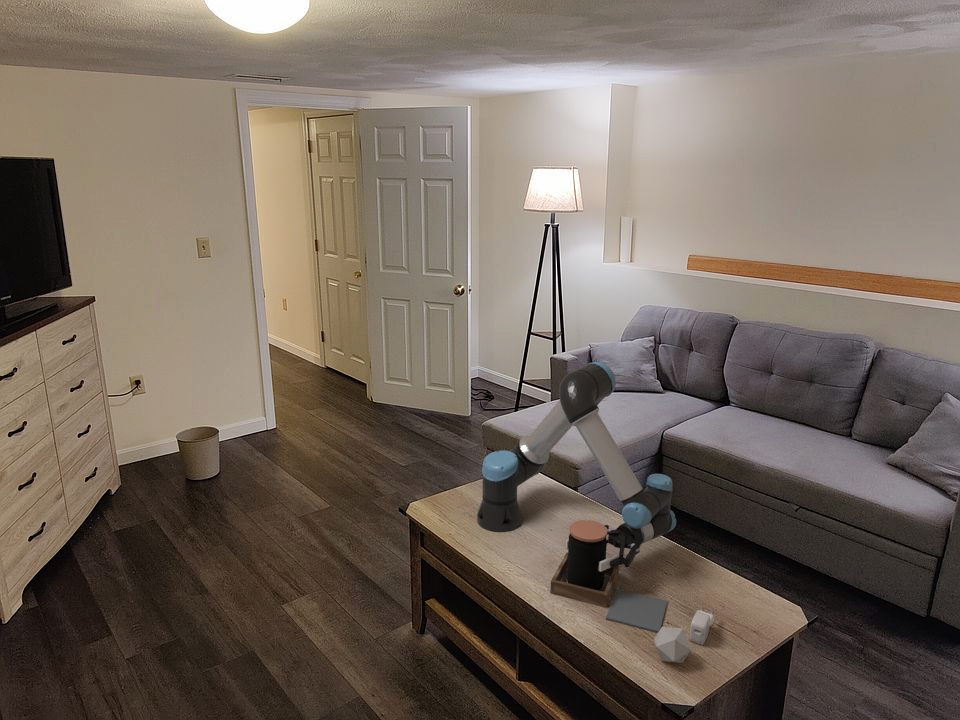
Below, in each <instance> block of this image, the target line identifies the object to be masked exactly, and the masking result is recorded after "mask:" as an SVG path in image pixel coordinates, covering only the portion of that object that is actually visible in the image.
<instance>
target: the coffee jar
mask: <svg viewBox="0 0 960 720" xmlns="http://www.w3.org/2000/svg"><path fill="white" fill-rule="evenodd" d="M604 525H605V524H602V523H600V522H599V521H595V520H590V519H581V520H576V521H574V522H572V523H571V524H570V525H569V529H568V530H569V534H568V539H569V543H568V549H567V553H568V564H567V570H566V583H569V584H573V585H577V586H581V587H585V588H589V589H593V590H598V591H601V589H603V587H604V586H605V585H604V584H605V576H606V575H605V570H604V571H602V572H600V571H599V562H601V561H603V560H605V559H607V547H608V543H607V540H608V535H607V528H606V527H605V526H604Z"/></svg>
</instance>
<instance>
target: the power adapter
mask: <svg viewBox="0 0 960 720" xmlns="http://www.w3.org/2000/svg"><path fill="white" fill-rule="evenodd" d="M714 613H715V610H713V609H712V610H711V611H710V613H708V612H705V606H702V607H700V610H699V609H698V610H696V611H695V613H694V615H693V618H692V620H691V622H690V627H689V628H690V629H689V641H690V642H693V643H695V644H698V645H701V646H703V645H704V644H705V643H706V641H707V638H708V635H709V633H710V627H711V626H712V625H713V624H714V621H715V619H716V618H715V616H714Z"/></svg>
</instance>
